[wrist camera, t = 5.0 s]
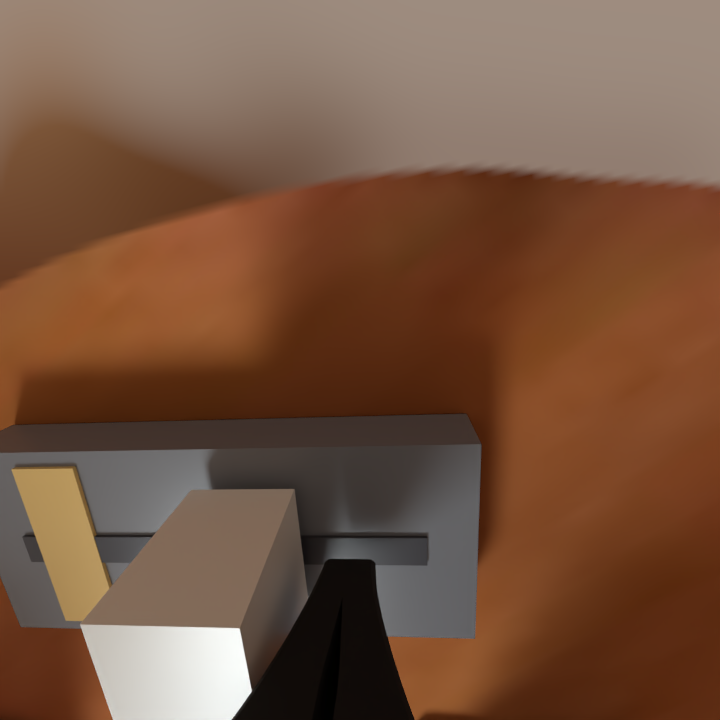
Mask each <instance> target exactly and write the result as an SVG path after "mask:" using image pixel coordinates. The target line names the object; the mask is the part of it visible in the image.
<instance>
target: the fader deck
mask: <svg viewBox="0 0 720 720" xmlns="http://www.w3.org/2000/svg"><path fill="white" fill-rule="evenodd" d="M480 473H481V442H480V440H479V438H478V436H477V434H476V432H475V430H474V428H473V426H472V424H471V422H470V420H469V418H468V416H467V414H433V415H393V416H353V417H313V418H272V419H232V420H192V421H152V422H112V423H72V424H32V425H12V426H10V427H8V428H5V429H3V430H1V431H0V577H1V580H2V582H3V585H4V587H5V590H6V592H7V594H8V597H9V599H10V602H11V604H12V607H13V609H14V612H15V614H16V617H17V619H18V622H19V624H20V627H38V628H77V629H81V626H80V624H81V622H82V621H83V620H84V619H85V618H86V616H87V615H88V614H89V613H90V612H91V610H92V609H93V608H94V607H95V606H96V604H97V603H98V602H99V601H100V599H101V598H102V597H103V596H104V595H105V593H106V592H107V591H108V590H109V589H110V587H111V586H112V585H113V584H114V583H115V581H116V580H117V579H118V578H119V577H120V575H121V574H122V573H123V572H124V570H125V569H126V568H127V567H128V566H129V564H130V563H131V562H132V561H133V560H134V558H135V557H136V556H137V555H138V554H139V552H140V551H141V550H142V549H143V547H144V546H145V545H146V544H147V543H148V541H149V540H150V539H151V538H152V537H153V535H154V534H155V533H156V532H157V531H158V529H159V528H160V527H161V526H162V525H163V523H164V522H165V521H166V520H167V518H168V517H169V516H170V515H171V514H172V512H173V511H174V510H175V509H176V508H177V506H178V505H179V504H180V503H181V502H182V500H183V499H184V498H185V497H186V495H187V494H188V493H189V492H190V491H191V490H219V489H295V497H296V505H297V513H298V521H299V529H300V537H301V545H302V553H303V561H304V569H305V577H306V585H307V593H308V598H309V596H310V594H311V592H312V590H313V588H314V586H315V584H316V582H317V580H318V577H319V575H320V573H321V571H322V568H323V566H324V564H325V562H326V561H327V560H328V559H371V560H373V561H374V562H375V565H376V584H377V593H378V598H379V604H380V609H381V613H382V618H383V622H384V626H385V629H386V633H387V636H394V637H434V638H473V639H475V622H476V592H477V563H478V533H479V503H480Z"/></svg>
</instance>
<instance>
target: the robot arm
mask: <svg viewBox="0 0 720 720" xmlns="http://www.w3.org/2000/svg"><path fill="white" fill-rule="evenodd" d="M232 720H414V717H413V714H412V712H411V709H410V706H409V703H408V701H407V698H406V695H405V692H404V689H403V686H402V683H401V680H400V677H399V674H398V671H397V668H396V665H395V662H394V658H393V655H392V652H391V648H390V645H389V641H388V637H387V633H386V629H385V626H384V622H383V618H382V613H381V609H380V604H379V598H378V593H377V584H376V565H375V562H374V561H373V560H371V559H328V560H327V561H326V562H325V564H324V566H323V568H322V571H321V573H320V575H319V577H318V580H317V582H316V584H315V586H314V588H313V590H312V592H311V594H310V596H309V598H308V600H307V602H306V604H305V605H304V607H303V609H302V611H301V613H300V614H299V616H298V618H297V620H296V622H295V623H294V625H293V627H292V629H291V631H290V632H289V634H288V636H287V637H286V639H285V641H284V642H283V644H282V646H281V647H280V649H279V650H278V652H277V654H276V655H275V657H274V658H273V660H272V662H271V663H270V665H269V666H268V668H267V669H266V671H265V673H264V674H263V676H262V677H261V679H260V680H259V682H258V683H257V685H256V686H255V688H254V689H253V691H252V692H251V693H250V695H249V696H248V698H247V699H246V701H245V702H244V703H243V705H242V706H241V708H240V709H239V710H238V712H237V713H236V714H235V716H234V717H233V719H232Z"/></svg>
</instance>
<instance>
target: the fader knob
mask: <svg viewBox="0 0 720 720" xmlns="http://www.w3.org/2000/svg"><path fill="white" fill-rule="evenodd" d="M307 600H308V593H307V585H306V577H305V569H304V561H303V553H302V545H301V537H300V529H299V521H298V513H297V505H296V497H295V489H219V490H191V491H190V492H189V493H188V494H187V495H186V497H185V498H184V499H183V500H182V502H181V503H180V504H179V505H178V506H177V508H176V509H175V510H174V511H173V512H172V514H171V515H170V516H169V517H168V518H167V520H166V521H165V522H164V523H163V525H162V526H161V527H160V528H159V529H158V531H157V532H156V533H155V534H154V535H153V537H152V538H151V539H150V540H149V541H148V543H147V544H146V545H145V546H144V547H143V549H142V550H141V551H140V552H139V554H138V555H137V556H136V557H135V558H134V560H133V561H132V562H131V563H130V564H129V566H128V567H127V568H126V569H125V570H124V572H123V573H122V574H121V575H120V577H119V578H118V579H117V580H116V581H115V583H114V584H113V585H112V586H111V587H110V589H109V590H108V591H107V592H106V593H105V595H104V596H103V597H102V598H101V599H100V601H99V602H98V603H97V604H96V606H95V607H94V608H93V609H92V610H91V612H90V613H89V614H88V615H87V616H86V618H85V619H84V620H83V621H82V622H81V624H80V626H81V629H82V632H83V635H84V638H85V641H86V644H87V646H88V649H89V652H90V655H91V658H92V661H93V664H94V667H95V669H96V672H97V675H98V678H99V681H100V684H101V687H102V690H103V692H104V695H105V698H106V701H107V704H108V707H109V710H110V713H111V715H112V718H113V720H232V719H233V717H234V716H235V714H236V713H237V712H238V710H239V709H240V708H241V706H242V705H243V703H244V702H245V701H246V699H247V698H248V696H249V695H250V693H251V692H252V691H253V689H254V688H255V686H256V685H257V683H258V682H259V680H260V679H261V677H262V676H263V674H264V673H265V671H266V669H267V668H268V666H269V665H270V663H271V662H272V660H273V658H274V657H275V655H276V654H277V652H278V650H279V649H280V647H281V646H282V644H283V642H284V641H285V639H286V637H287V636H288V634H289V632H290V631H291V629H292V627H293V625H294V623H295V622H296V620H297V618H298V616H299V614H300V613H301V611H302V609H303V607H304V605H305V604H306V602H307Z"/></svg>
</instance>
